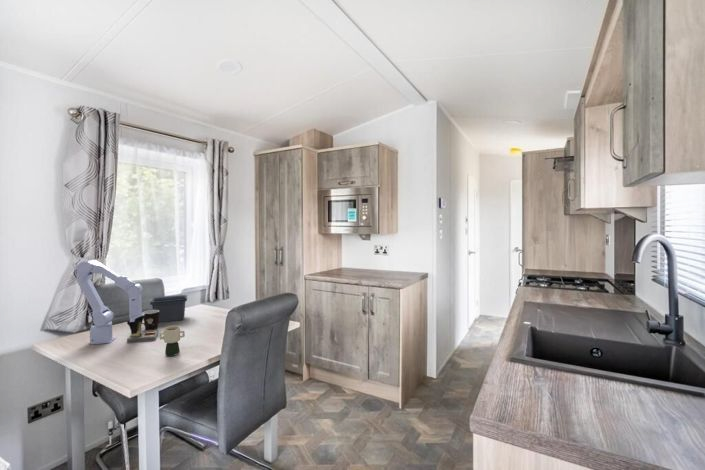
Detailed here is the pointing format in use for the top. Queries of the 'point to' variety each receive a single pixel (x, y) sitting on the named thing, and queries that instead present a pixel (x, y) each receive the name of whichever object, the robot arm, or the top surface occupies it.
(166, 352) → the beige trophy cup
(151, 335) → the socket
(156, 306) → the storage bin
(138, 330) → the brass peg
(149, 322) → the coffee mug
